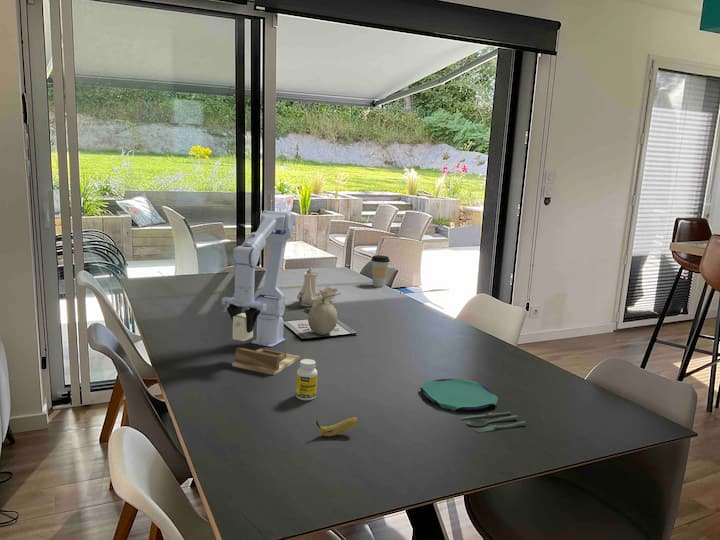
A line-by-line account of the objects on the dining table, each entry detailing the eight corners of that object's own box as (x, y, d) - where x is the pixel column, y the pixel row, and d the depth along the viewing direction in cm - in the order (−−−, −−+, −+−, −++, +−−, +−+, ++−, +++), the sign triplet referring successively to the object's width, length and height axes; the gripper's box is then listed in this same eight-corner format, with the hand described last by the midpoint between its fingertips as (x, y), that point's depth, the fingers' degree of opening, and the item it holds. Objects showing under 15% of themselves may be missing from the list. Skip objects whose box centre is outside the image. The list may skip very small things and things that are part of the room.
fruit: (300, 334, 208) (302, 293, 205) (317, 327, 218) (319, 288, 215) (325, 340, 203) (327, 298, 201) (341, 333, 214) (344, 292, 211)
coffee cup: (367, 283, 302) (369, 254, 299) (384, 283, 305) (386, 255, 302) (372, 287, 293) (374, 258, 290) (390, 287, 296) (392, 258, 293)
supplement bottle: (297, 401, 152) (299, 365, 150) (294, 393, 157) (295, 358, 155) (318, 400, 153) (320, 364, 151) (314, 392, 158) (315, 357, 156)
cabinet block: (241, 334, 181) (242, 312, 179) (253, 337, 179) (253, 314, 178) (230, 339, 175) (231, 317, 174) (242, 342, 174) (242, 319, 173)
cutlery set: (470, 382, 173) (471, 374, 173) (533, 428, 146) (534, 419, 146) (409, 388, 166) (410, 380, 166) (463, 438, 139) (464, 429, 139)
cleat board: (260, 351, 188) (261, 336, 187) (299, 359, 183) (300, 343, 182) (232, 366, 173) (232, 350, 172) (273, 375, 168) (274, 358, 167)
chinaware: (331, 318, 239) (338, 278, 236) (291, 311, 238) (297, 271, 235) (336, 302, 266) (341, 266, 263) (299, 295, 266) (305, 260, 263)
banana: (355, 430, 137) (356, 414, 136) (358, 435, 135) (359, 419, 134) (313, 434, 134) (314, 418, 133) (316, 439, 132) (317, 423, 131)
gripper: (216, 285, 174) (215, 329, 176) (258, 292, 169) (256, 337, 171) (230, 281, 180) (229, 324, 183) (271, 288, 175) (269, 331, 177)
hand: (243, 330), depth 177 cm, fingers closed on cabinet block, 4 cm apart
